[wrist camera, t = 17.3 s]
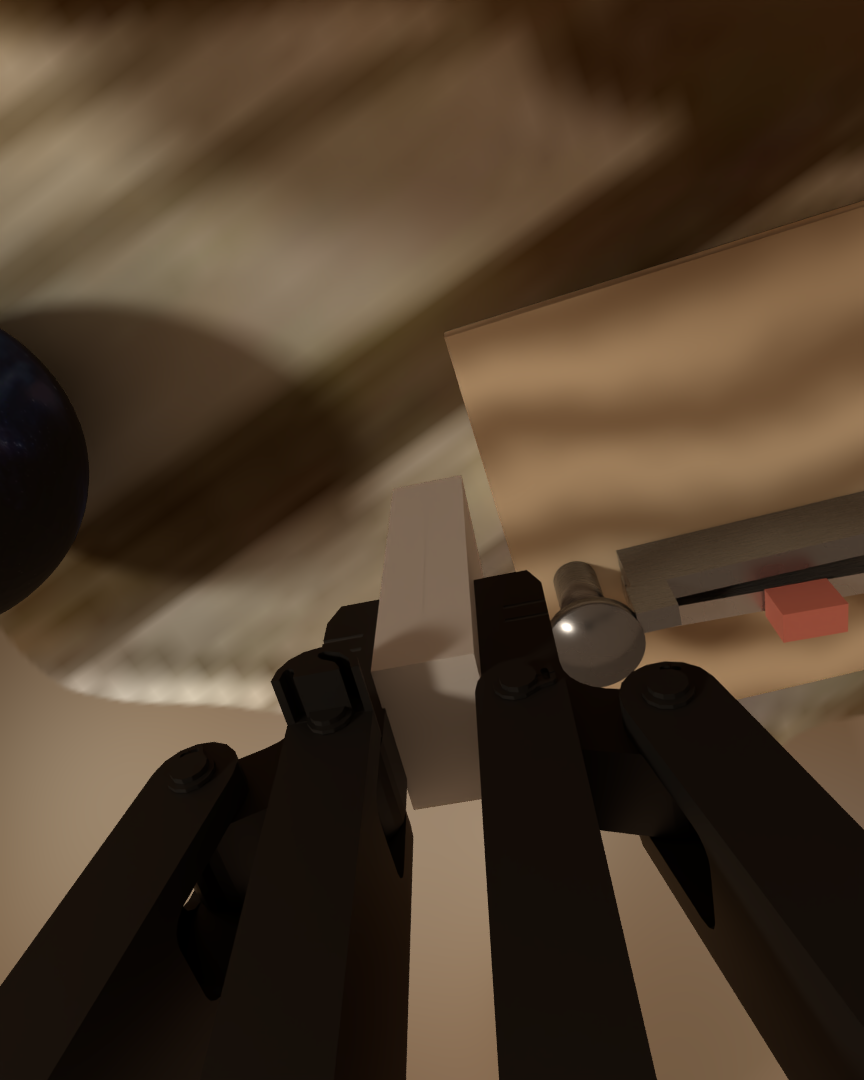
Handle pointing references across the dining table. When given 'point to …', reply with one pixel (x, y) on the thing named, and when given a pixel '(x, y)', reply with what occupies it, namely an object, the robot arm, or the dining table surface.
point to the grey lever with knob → (698, 579)
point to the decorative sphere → (36, 473)
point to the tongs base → (722, 602)
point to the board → (681, 422)
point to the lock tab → (806, 610)
